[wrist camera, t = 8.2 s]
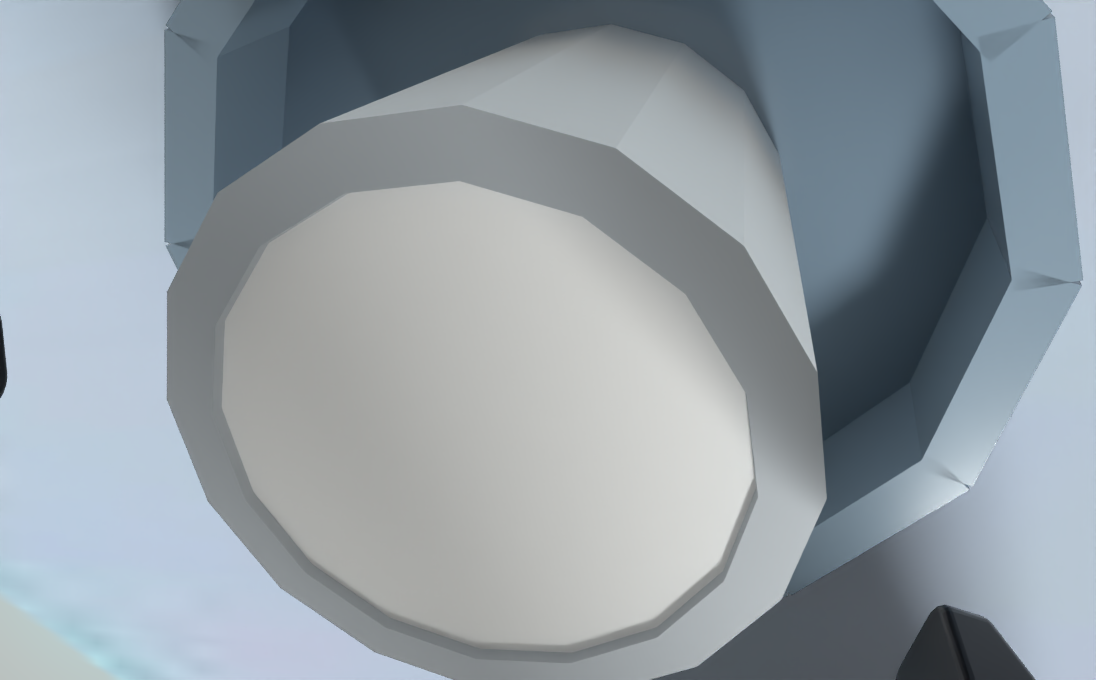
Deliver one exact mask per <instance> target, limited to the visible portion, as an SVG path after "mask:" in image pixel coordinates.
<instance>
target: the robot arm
mask: <svg viewBox="0 0 1096 680" xmlns="http://www.w3.org/2000/svg"><path fill="white" fill-rule="evenodd" d="M6 382H7V367H6V357H5V347H4V338H3V328H2V320H1V316H0V398H1V396H2V394H3V393H4V390H5V387H6ZM896 680H1035V678H1034V677H1033V676H1032V674H1031V673H1030V672H1029V671H1028V669H1027V668H1026V667H1025V665H1024V664H1023V663H1022V662H1021V660H1020V659H1019V658H1018V656H1017V655H1016V654H1015V653H1014V651H1013V650H1012V649H1011V647H1010V646H1009V645H1008V643H1007V642H1006V641H1005V640H1004V638H1003V637H1002V636H1001V634H1000V633H999V632H998V631H997V629H996V628H995V627H994V625H993V624H992V623H991V622H990V621H989V620H987V619H986V618H984V617H982V616H980V615H977V614H974V613H970V612H967V611H964V610H961V609H958V608H954V607H951V606H948V605H942V606H938V607H936V608H935V609H934V610H933V611H932V612H931V613H930V615H929V616H928V618H927V620H926V621H925V623H924V625H923V627H922V629H921V630H920V632H919V634H918V636H917V637H916V639H915V641H914V643H913V644H912V646H911V648H910V650H909V652H908V653H907V655H906V657H905V659H904V660H903V662H902V664H901V666H900V668H899V671H898V674H897V677H896Z"/></svg>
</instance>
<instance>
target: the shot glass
mask: <svg viewBox="0 0 1096 680" xmlns="http://www.w3.org/2000/svg"><path fill="white" fill-rule="evenodd" d="M167 401H168V403H169V406H170V408H171V411H172V413H173V416H174V418H175V421H176V423H177V426H178V428H179V431H180V433H181V436H182V438H183V440H184V443H185V445H186V448H187V450H188V453H189V455H190V458H191V460H192V463H193V465H194V468H195V470H196V473H197V475H198V478H199V480H200V483H201V485H202V488H203V490H204V493H205V495H206V498H207V500H208V502H209V503H210V504H211V506H212V507H213V508H214V509H215V510H216V512H217V513H218V514H219V515H220V516H221V518H222V519H223V520H224V521H225V522H226V524H227V525H228V526H229V527H230V528H231V529H232V531H233V532H234V533H235V534H236V535H237V537H238V538H239V539H240V540H241V541H242V543H243V544H244V545H245V546H246V547H247V549H248V550H249V551H250V552H251V553H252V555H253V556H254V557H255V558H256V559H257V561H258V562H259V563H260V564H261V565H262V566H263V568H264V569H265V570H266V571H267V572H268V574H269V575H270V576H271V577H272V578H273V580H274V581H275V582H276V583H277V584H278V586H279V587H280V588H281V589H283V590H284V591H286V592H287V593H289V594H290V595H292V596H293V597H295V598H296V599H297V600H299V601H300V602H302V603H303V604H305V605H306V606H308V607H309V608H311V609H312V610H314V611H315V612H317V613H318V614H319V615H321V616H322V617H324V618H325V619H327V620H328V621H330V622H331V623H333V624H334V625H336V626H337V627H338V628H340V629H341V630H343V631H344V632H346V633H347V634H349V635H350V636H352V637H353V638H355V639H356V640H358V641H359V642H360V643H362V644H363V645H365V646H366V647H368V648H369V649H371V650H372V651H374V652H376V653H379V654H382V655H384V656H387V657H390V658H393V659H396V660H399V661H402V662H404V663H407V664H410V665H413V666H416V667H419V668H422V669H425V670H427V671H430V672H433V673H436V674H439V675H442V676H445V677H447V678H450V679H453V680H651V679H654V678H658V677H662V676H665V675H669V674H673V673H676V672H680V671H683V670H687V669H691V668H694V667H697V666H699V665H700V664H701V663H702V662H704V661H705V660H706V659H708V658H709V657H710V656H711V655H713V654H714V653H715V652H716V651H718V650H719V649H720V648H721V647H723V646H724V645H725V644H726V643H728V642H729V641H730V640H732V639H733V638H734V637H735V636H737V635H738V634H739V633H740V632H742V631H743V630H744V629H745V628H747V627H748V626H749V625H750V624H752V623H753V622H754V621H756V620H757V619H758V618H759V617H761V616H762V615H763V614H764V613H766V612H767V611H768V610H769V609H771V608H772V607H773V606H774V605H776V604H777V603H778V602H779V601H781V599H782V597H783V595H784V593H785V590H786V588H787V586H788V584H789V582H790V579H791V577H792V575H793V573H794V570H795V568H796V566H797V564H798V562H799V559H800V557H801V555H802V553H803V550H804V548H805V546H806V544H807V542H808V539H809V537H810V535H811V533H812V530H813V528H814V526H815V524H816V522H817V519H818V517H819V515H820V513H821V511H822V508H823V506H824V504H825V502H826V499H827V494H826V480H825V467H824V453H823V440H822V427H821V413H820V400H819V386H818V373H817V367H816V361H815V356H814V350H813V344H812V339H811V333H810V327H809V322H808V316H807V310H806V305H805V299H804V293H803V287H802V282H801V276H800V270H799V265H798V259H797V253H796V248H795V242H794V236H793V230H792V225H791V219H790V213H789V208H788V202H787V196H786V191H785V185H784V179H783V174H782V168H781V162H780V156H779V153H778V152H777V150H776V148H775V146H774V144H773V142H772V141H771V139H770V137H769V135H768V133H767V132H766V130H765V128H764V126H763V124H762V122H761V121H760V119H759V117H758V115H757V113H756V111H755V110H754V108H753V106H752V104H751V102H750V101H749V99H748V97H747V95H746V93H745V91H744V90H743V89H742V88H740V87H739V86H738V85H736V84H735V83H734V82H733V81H731V80H730V79H729V78H728V77H726V76H725V75H724V74H722V73H721V72H720V71H719V70H717V69H716V68H715V67H713V66H712V65H711V64H710V63H708V62H707V61H706V60H704V59H703V58H702V57H701V56H699V55H698V54H697V53H696V52H694V51H693V50H692V49H690V48H689V47H688V46H687V45H685V44H684V43H680V42H676V41H672V40H669V39H665V38H661V37H657V36H654V35H650V34H646V33H642V32H639V31H635V30H631V29H627V28H624V27H620V26H616V25H612V24H609V25H603V26H596V27H589V28H583V29H576V30H569V31H563V32H556V33H549V34H543V35H538V36H536V37H533V38H531V39H528V40H526V41H523V42H521V43H518V44H516V45H513V46H511V47H508V48H506V49H503V50H501V51H499V52H496V53H494V54H491V55H489V56H486V57H484V58H481V59H479V60H476V61H474V62H471V63H469V64H466V65H464V66H461V67H459V68H456V69H454V70H451V71H449V72H446V73H444V74H441V75H439V76H436V77H434V78H431V79H429V80H427V81H424V82H422V83H419V84H417V85H414V86H412V87H409V88H407V89H404V90H402V91H399V92H397V93H394V94H392V95H389V96H387V97H384V98H382V99H379V100H377V101H374V102H372V103H369V104H367V105H364V106H362V107H359V108H357V109H355V110H352V111H350V112H347V113H345V114H342V115H340V116H337V117H335V118H332V119H330V120H327V121H325V122H322V123H320V124H318V125H317V126H315V127H314V128H312V129H311V130H309V131H308V132H306V133H305V134H303V135H302V136H301V137H299V138H298V139H296V140H295V141H293V142H292V143H290V144H289V145H287V146H286V147H284V148H283V149H281V150H280V151H278V152H277V153H275V154H274V155H273V156H271V157H270V158H268V159H267V160H265V161H264V162H262V163H261V164H259V165H258V166H256V167H255V168H253V169H252V170H250V171H249V172H247V173H246V174H244V175H243V176H242V177H240V178H239V179H237V180H236V181H234V182H233V183H231V184H230V185H228V186H227V187H225V188H224V189H222V190H221V191H219V192H218V193H217V195H216V197H215V199H214V201H213V203H212V205H211V207H210V209H209V210H208V212H207V214H206V216H205V218H204V220H203V222H202V224H201V226H200V228H199V230H198V232H197V234H196V236H195V238H194V240H193V242H192V244H191V246H190V248H189V250H188V252H187V254H186V256H185V258H184V260H183V262H182V264H181V266H180V268H179V269H178V271H177V273H176V275H175V277H174V279H173V281H172V283H171V285H170V287H169V289H168V291H167Z"/></svg>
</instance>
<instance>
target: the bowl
mask: <svg viewBox="0 0 1096 680" xmlns="http://www.w3.org/2000/svg"><path fill="white" fill-rule="evenodd" d="M1051 12H1052V10H1051V9H1050V8H1049V7H1048V6H1047V5H1046V4H1045V3H1044V2H1043V0H181V1H180V3H179V4H178V6H177V8H176V9H175V11H174V13H173V14H172V16H171V17H170V19H169V21H168V22H167V24H166V26H167V27H168V29H166V30H165V242H168V243H169V244H168V245H166V247H167V249H168V251H169V253H170V255H171V257H172V259H173V261H174V263H175V265H176V267H177V269H179V268H180V266H181V264H182V262H183V260H184V258H185V256H186V254H187V252H188V250H189V248H190V246H191V244H192V242H193V240H194V238H195V236H196V234H197V232H198V230H199V228H200V226H201V224H202V222H203V220H204V218H205V216H206V214H207V212H208V210H209V209H210V207H211V205H212V203H213V201H214V199H215V197H216V195H217V193H218V192H219V191H221V190H222V189H224V188H225V187H227V186H228V185H230V184H231V183H233V182H234V181H236V180H237V179H239V178H240V177H242V176H243V175H244V174H246V173H247V172H249V171H250V170H252V169H253V168H255V167H256V166H258V165H259V164H261V163H262V162H264V161H265V160H267V159H268V158H270V157H271V156H273V155H274V154H275V153H277V152H278V151H280V150H281V149H283V148H284V147H286V146H287V145H289V144H290V143H292V142H293V141H295V140H296V139H298V138H299V137H301V136H302V135H303V134H305V133H306V132H308V131H309V130H311V129H312V128H314V127H315V126H317V125H318V124H320V123H322V122H325V121H327V120H330V119H332V118H335V117H337V116H340V115H342V114H345V113H347V112H350V111H352V110H355V109H357V108H359V107H362V106H364V105H367V104H369V103H372V102H374V101H377V100H379V99H382V98H384V97H387V96H389V95H392V94H394V93H397V92H399V91H402V90H404V89H407V88H409V87H412V86H414V85H417V84H419V83H422V82H424V81H427V80H429V79H431V78H434V77H436V76H439V75H441V74H444V73H446V72H449V71H451V70H454V69H456V68H459V67H461V66H464V65H466V64H469V63H471V62H474V61H476V60H479V59H481V58H484V57H486V56H489V55H491V54H494V53H496V52H499V51H501V50H503V49H506V48H508V47H511V46H513V45H516V44H518V43H521V42H523V41H526V40H528V39H531V38H533V37H536V36H538V35H543V34H549V33H556V32H563V31H569V30H576V29H583V28H589V27H596V26H603V25H609V24H612V25H616V26H620V27H624V28H627V29H631V30H635V31H639V32H642V33H646V34H650V35H654V36H657V37H661V38H665V39H669V40H672V41H676V42H680V43H684V44H685V45H687V46H688V47H689V48H690V49H692V50H693V51H694V52H696V53H697V54H698V55H699V56H701V57H702V58H703V59H704V60H706V61H707V62H708V63H710V64H711V65H712V66H713V67H715V68H716V69H717V70H719V71H720V72H721V73H722V74H724V75H725V76H726V77H728V78H729V79H730V80H731V81H733V82H734V83H735V84H736V85H738V86H739V87H740V88H742V89H743V90H744V91H745V93H746V95H747V97H748V99H749V101H750V102H751V104H752V106H753V108H754V110H755V111H756V113H757V115H758V117H759V119H760V121H761V122H762V124H763V126H764V128H765V130H766V132H767V133H768V135H769V137H770V139H771V141H772V142H773V144H774V146H775V148H776V150H777V152H778V153H779V156H780V162H781V168H782V174H783V179H784V185H785V191H786V196H787V202H788V208H789V213H790V219H791V225H792V230H793V236H794V242H795V248H796V253H797V259H798V265H799V270H800V276H801V282H802V287H803V293H804V299H805V305H806V310H807V316H808V322H809V327H810V333H811V339H812V344H813V350H814V356H815V361H816V367H817V373H818V386H819V400H820V413H821V427H822V440H823V453H824V467H825V480H826V494H827V499H826V502H825V504H824V506H823V508H822V511H821V513H820V515H819V517H818V519H817V522H816V524H815V526H814V528H813V530H812V533H811V535H810V537H809V539H808V542H807V544H806V546H805V548H804V550H803V553H802V555H801V557H800V559H799V562H798V564H797V566H796V568H795V570H794V573H793V575H792V577H791V579H790V582H789V584H788V586H787V588H786V590H785V593H784V595H783V597H787V593H788V592H789V593H790V594H791V595H793V594H795V593H796V592H798V591H800V590H801V589H803V588H805V587H807V586H808V585H810V584H812V583H813V582H815V581H817V580H818V579H820V578H822V577H823V576H825V575H827V574H828V573H830V572H832V571H834V570H835V569H837V568H839V567H840V566H842V565H844V564H845V563H847V562H849V561H850V560H852V559H854V558H855V557H857V556H859V555H861V554H862V553H864V552H866V551H867V550H869V549H871V548H872V547H874V546H876V545H877V544H879V543H881V542H882V541H884V540H886V539H888V538H889V537H891V536H893V535H894V534H896V533H898V532H899V531H901V530H903V529H904V528H906V527H908V526H909V525H911V524H913V523H915V522H916V521H918V520H920V519H921V518H923V517H925V516H926V515H928V514H930V513H931V512H933V511H935V510H936V509H938V508H940V507H941V506H943V505H945V504H947V503H948V502H950V501H952V500H953V499H955V498H957V497H958V496H960V495H962V494H963V493H965V492H967V491H968V490H969V486H972V487H973V485H974V483H975V481H976V480H977V478H978V476H979V474H980V472H981V470H982V469H983V467H984V465H985V463H986V461H987V459H988V458H989V456H990V454H991V452H992V450H993V448H994V446H995V445H996V443H997V441H998V439H999V437H1000V435H1001V434H1002V432H1003V430H1004V428H1005V426H1006V424H1007V423H1008V421H1009V419H1010V417H1011V415H1012V413H1013V412H1014V410H1015V408H1016V406H1017V404H1018V402H1019V401H1020V399H1021V397H1022V395H1023V393H1024V391H1025V389H1026V388H1027V386H1028V384H1029V382H1030V380H1031V378H1032V377H1033V375H1034V373H1035V371H1036V369H1037V367H1038V366H1039V364H1040V362H1041V360H1042V358H1043V356H1044V355H1045V353H1046V351H1047V349H1048V347H1049V345H1050V344H1051V342H1052V340H1053V338H1054V336H1055V334H1056V332H1057V331H1058V329H1059V327H1060V325H1061V323H1062V321H1063V320H1064V318H1065V316H1066V314H1067V312H1068V310H1069V309H1070V307H1071V305H1072V303H1073V301H1074V299H1075V298H1076V296H1077V294H1078V292H1079V290H1080V288H1081V287H1082V285H1081V283H1080V281H1082V280H1083V274H1082V265H1081V256H1080V246H1079V237H1078V228H1077V219H1076V209H1075V200H1074V191H1073V181H1072V172H1071V163H1070V154H1069V144H1068V135H1067V126H1066V116H1065V107H1064V98H1063V89H1062V79H1061V70H1060V61H1059V51H1058V42H1057V33H1056V24H1055V17H1054V16H1053V15H1052V14H1051ZM968 485H969V486H968Z"/></svg>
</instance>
